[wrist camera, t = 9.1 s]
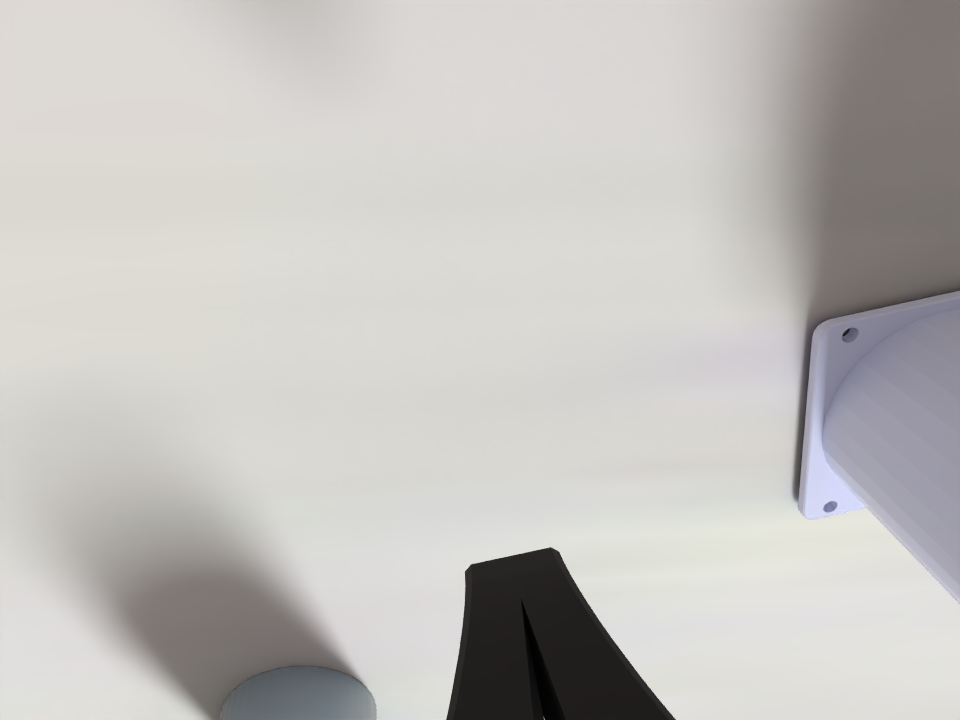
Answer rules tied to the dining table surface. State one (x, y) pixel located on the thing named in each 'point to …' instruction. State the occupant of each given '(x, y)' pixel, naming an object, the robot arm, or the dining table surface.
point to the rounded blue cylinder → (300, 696)
